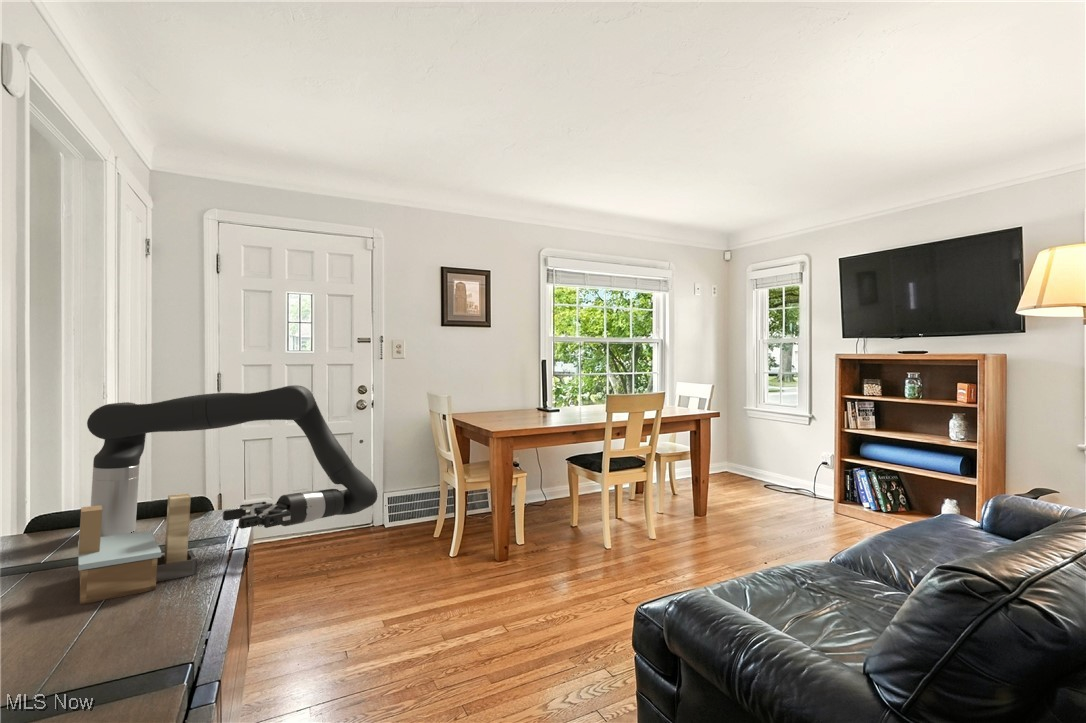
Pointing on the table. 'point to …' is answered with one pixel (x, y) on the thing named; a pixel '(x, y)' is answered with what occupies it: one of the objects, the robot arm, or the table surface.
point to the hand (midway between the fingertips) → (231, 519)
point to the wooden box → (131, 577)
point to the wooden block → (177, 528)
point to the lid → (111, 543)
